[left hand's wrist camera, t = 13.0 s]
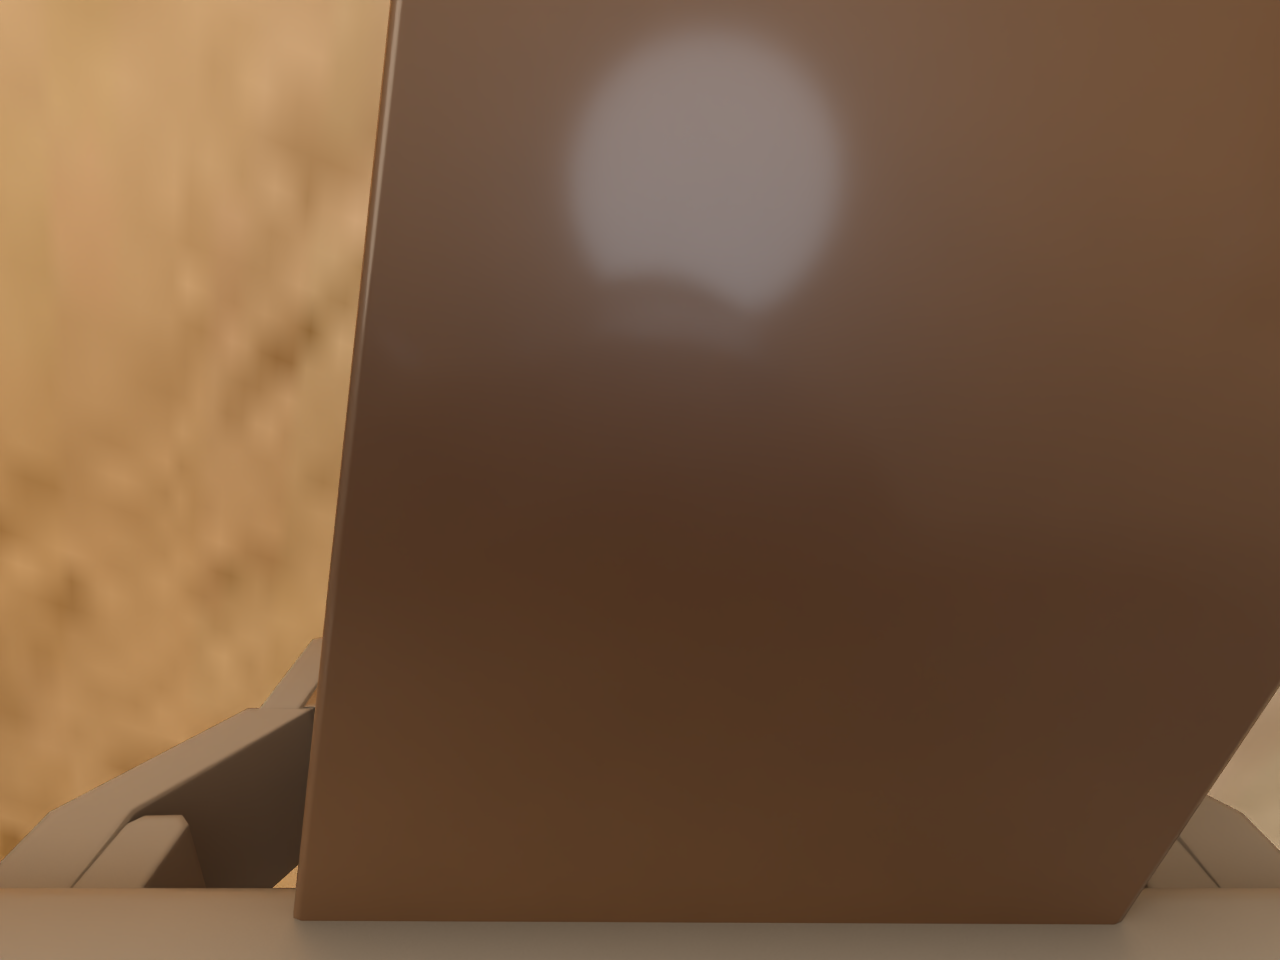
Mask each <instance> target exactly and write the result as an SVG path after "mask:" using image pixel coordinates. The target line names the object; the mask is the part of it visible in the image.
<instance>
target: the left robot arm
mask: <svg viewBox="0 0 1280 960" xmlns="http://www.w3.org/2000/svg"><path fill="white" fill-rule="evenodd" d="M322 639H323V637H319V638H316V639H313V640H312V641H311V642H310V643H309V644H308V646H307V647H306V648H305V649H304V651H303V652H302V653H301V655H300V656H299V657H298V659H297V660H296V661H295V663H294V664H293V665H292V666H291V668H290V669H289V670H288V672H287V673H286V674H285V676H284V677H283V678H282V680H281V681H280V682H279V683H278V685H277V686H276V687H275V689H274V690H273V691H272V693H271V694H270V695H269V697H268V698H267V699H266V700H265V702H264V703H263V704H262V706H261V707H260V708H248V709H246V710H244V711H242V712H240V713H238V714H236V715H234V716H232V717H230V718H228V719H227V720H225V721H223V722H221V723H219V724H217V725H215V726H213V727H211V728H209V729H207V730H205V731H204V732H202V733H200V734H198V735H196V736H194V737H192V738H190V739H188V740H186V741H184V742H182V743H181V744H179V745H177V746H175V747H173V748H171V749H169V750H167V751H165V752H163V753H161V754H160V755H158V756H156V757H154V758H152V759H150V760H148V761H146V762H144V763H142V764H140V765H138V766H137V767H135V768H133V769H131V770H129V771H127V772H125V773H123V774H121V775H119V776H117V777H115V778H114V779H112V780H110V781H108V782H106V783H104V784H102V785H100V786H98V787H96V788H94V789H92V790H91V791H89V792H87V793H85V794H83V795H81V796H79V797H77V798H75V799H73V800H71V801H69V802H68V803H66V804H64V805H62V806H60V807H58V808H56V809H54V810H52V811H50V812H49V813H48V814H47V815H46V816H45V817H44V818H43V819H42V820H41V821H40V822H39V823H38V824H37V825H36V826H35V827H34V828H33V829H32V830H31V831H30V832H29V833H28V834H27V835H26V836H25V837H24V838H23V839H22V840H21V841H20V842H19V843H18V845H17V846H16V847H15V848H14V849H13V850H12V851H11V852H10V853H9V854H8V855H7V856H6V857H5V858H4V859H3V860H2V861H1V862H0V960H1280V851H1279V850H1278V849H1277V848H1276V847H1275V846H1274V845H1273V844H1272V843H1271V842H1270V841H1269V840H1268V839H1267V838H1266V837H1265V836H1264V835H1263V834H1262V833H1261V832H1260V831H1259V830H1258V829H1257V828H1256V827H1255V826H1254V825H1253V823H1252V822H1251V821H1250V820H1249V819H1248V818H1247V817H1246V816H1245V815H1244V814H1243V813H1241V812H1239V811H1237V810H1235V809H1233V808H1231V807H1229V806H1227V805H1226V804H1224V803H1222V802H1220V801H1218V800H1216V799H1214V798H1212V797H1210V796H1208V795H1206V796H1205V798H1204V799H1203V801H1202V802H1201V804H1200V805H1199V807H1198V808H1197V810H1196V811H1195V813H1194V814H1193V816H1192V817H1191V819H1190V820H1189V822H1188V823H1187V825H1186V826H1185V828H1184V829H1183V831H1182V832H1181V834H1180V835H1179V837H1178V838H1177V840H1176V841H1175V843H1174V844H1173V846H1172V847H1171V848H1170V850H1169V851H1168V853H1167V854H1166V856H1165V857H1164V859H1163V860H1162V862H1161V863H1160V865H1159V866H1158V868H1157V869H1156V871H1155V872H1154V874H1153V875H1152V877H1151V878H1150V880H1149V881H1148V883H1147V884H1146V886H1145V887H1144V889H1143V890H1142V892H1141V893H1140V895H1139V896H1138V898H1137V899H1136V901H1135V902H1134V904H1133V905H1132V907H1131V908H1130V909H1129V911H1128V912H1127V914H1126V915H1125V917H1124V918H1123V920H1122V921H1121V922H1119V923H1117V924H1115V925H1102V924H884V923H669V922H455V921H300V920H298V919H295V918H293V911H294V901H295V892H296V888H273V887H274V886H275V885H276V884H277V883H278V882H279V881H281V880H282V879H283V878H284V877H285V876H286V875H287V874H288V873H289V872H290V871H292V870H293V869H294V868H295V867H296V866H297V865H298V864H299V855H300V845H301V836H302V826H303V817H304V808H305V798H306V789H307V779H308V770H309V761H310V751H311V742H312V733H313V723H314V714H315V704H316V695H317V686H318V676H319V667H320V657H321V648H322Z"/></svg>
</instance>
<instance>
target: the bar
mask: <svg viewBox="0 0 1280 960" xmlns="http://www.w3.org/2000/svg"><path fill="white" fill-rule="evenodd" d="M1279 686H1280V0H390V10H389V19H388V28H387V38H386V47H385V57H384V66H383V75H382V85H381V94H380V104H379V113H378V122H377V132H376V141H375V151H374V160H373V169H372V179H371V188H370V197H369V207H368V216H367V226H366V235H365V244H364V254H363V263H362V273H361V282H360V291H359V301H358V310H357V319H356V329H355V338H354V348H353V357H352V366H351V376H350V385H349V395H348V404H347V413H346V423H345V432H344V442H343V451H342V460H341V470H340V479H339V488H338V498H337V507H336V517H335V526H334V535H333V545H332V554H331V564H330V573H329V582H328V592H327V601H326V610H325V620H324V629H323V639H322V648H321V657H320V667H319V676H318V686H317V695H316V704H315V714H314V723H313V733H312V742H311V751H310V761H309V770H308V779H307V789H306V798H305V808H304V817H303V826H302V836H301V845H300V855H299V864H298V873H297V883H296V892H295V901H294V911H293V918H295V919H298V920H300V921H455V922H669V923H884V924H1102V925H1115V924H1117V923H1119V922H1121V921H1122V920H1123V918H1124V917H1125V915H1126V914H1127V912H1128V911H1129V909H1130V908H1131V907H1132V905H1133V904H1134V902H1135V901H1136V899H1137V898H1138V896H1139V895H1140V893H1141V892H1142V890H1143V889H1144V887H1145V886H1146V884H1147V883H1148V881H1149V880H1150V878H1151V877H1152V875H1153V874H1154V872H1155V871H1156V869H1157V868H1158V866H1159V865H1160V863H1161V862H1162V860H1163V859H1164V857H1165V856H1166V854H1167V853H1168V851H1169V850H1170V848H1171V847H1172V846H1173V844H1174V843H1175V841H1176V840H1177V838H1178V837H1179V835H1180V834H1181V832H1182V831H1183V829H1184V828H1185V826H1186V825H1187V823H1188V822H1189V820H1190V819H1191V817H1192V816H1193V814H1194V813H1195V811H1196V810H1197V808H1198V807H1199V805H1200V804H1201V802H1202V801H1203V799H1204V798H1205V796H1206V795H1207V793H1208V792H1209V790H1210V789H1211V787H1212V786H1213V785H1214V783H1215V782H1216V780H1217V779H1218V777H1219V776H1220V774H1221V773H1222V771H1223V770H1224V768H1225V767H1226V765H1227V764H1228V762H1229V761H1230V759H1231V758H1232V756H1233V755H1234V753H1235V752H1236V750H1237V749H1238V747H1239V746H1240V744H1241V743H1242V741H1243V740H1244V738H1245V737H1246V735H1247V734H1248V732H1249V731H1250V729H1251V728H1252V726H1253V725H1254V724H1255V722H1256V721H1257V719H1258V718H1259V716H1260V715H1261V713H1262V712H1263V710H1264V709H1265V707H1266V706H1267V704H1268V703H1269V701H1270V700H1271V698H1272V697H1273V695H1274V694H1275V692H1276V691H1277V689H1278V688H1279Z"/></svg>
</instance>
